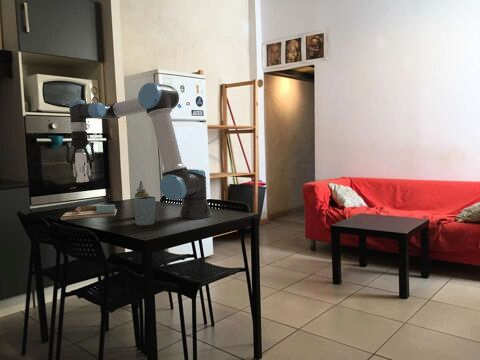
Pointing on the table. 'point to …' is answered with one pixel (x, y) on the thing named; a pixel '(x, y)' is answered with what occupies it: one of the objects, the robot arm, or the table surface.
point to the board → (85, 213)
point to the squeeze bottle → (141, 191)
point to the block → (105, 209)
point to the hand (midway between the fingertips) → (82, 175)
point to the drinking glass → (144, 210)
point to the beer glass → (81, 166)
